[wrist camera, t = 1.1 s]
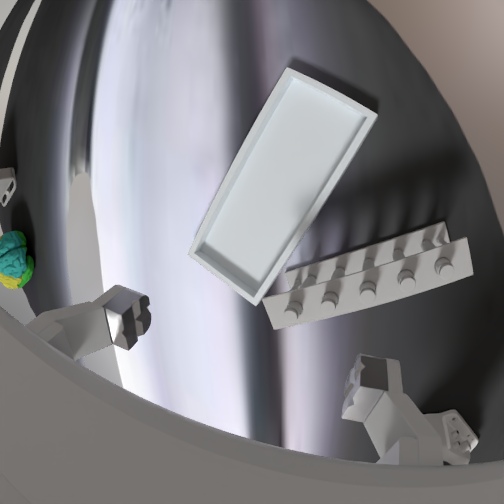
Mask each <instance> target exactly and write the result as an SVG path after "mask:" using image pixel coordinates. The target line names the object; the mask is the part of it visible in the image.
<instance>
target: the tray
mask: <svg viewBox="0 0 504 504" xmlns="http://www.w3.org/2000/svg"><path fill="white" fill-rule="evenodd" d="M377 117H378V115H377V114H376V113H374V112H373V111H371V110H369V109H368V108H366V107H364V106H363V105H361V104H359V103H357V102H356V101H354V100H352V99H350V98H349V97H347V96H345V95H343V94H341V93H339V92H338V91H336V90H334V89H332V88H330V87H328V86H326V85H324V84H322V83H320V82H318V81H316V80H314V79H312V78H310V77H308V76H306V75H303V74H301V73H299V72H297V71H295V70H292V69H290V68H288V67H287V68H286V69H285V71H284V73H283V74H282V76H281V78H280V79H279V81H278V83H277V85H276V86H275V88H274V90H273V91H272V93H271V95H270V97H269V98H268V100H267V102H266V103H265V105H264V107H263V109H262V110H261V112H260V114H259V116H258V118H257V119H256V121H255V123H254V125H253V126H252V128H251V130H250V132H249V134H248V136H247V137H246V139H245V141H244V143H243V145H242V147H241V148H240V150H239V152H238V154H237V156H236V158H235V160H234V162H233V163H232V165H231V167H230V169H229V171H228V173H227V175H226V177H225V179H224V181H223V183H222V185H221V187H220V188H219V190H218V192H217V194H216V196H215V198H214V200H213V202H212V204H211V206H210V208H209V210H208V212H207V214H206V216H205V219H204V221H203V223H202V225H201V227H200V229H199V231H198V233H197V235H196V237H195V239H194V241H193V243H192V246H191V248H190V250H189V252H188V254H187V255H189V256H190V257H191V258H193V259H194V260H195V261H196V262H198V263H199V264H200V265H202V266H203V267H204V268H206V269H207V270H208V271H210V272H211V273H212V274H213V275H215V276H216V277H217V278H219V279H220V280H221V281H223V282H224V283H225V284H227V285H228V286H229V287H231V288H232V289H233V290H235V291H236V292H237V293H239V294H240V295H241V296H243V297H244V298H245V299H247V300H248V301H250V302H251V303H252V304H254V305H255V306H256V305H257V304H258V303H259V302H260V301H261V300H262V298H263V297H264V295H265V294H266V293H267V291H268V290H269V288H270V287H271V285H272V284H273V282H274V281H275V279H276V278H277V276H278V275H279V273H280V272H281V270H282V269H283V267H284V266H285V264H286V263H287V261H288V260H289V258H290V257H291V255H292V254H293V252H294V251H295V249H296V248H297V246H298V245H299V243H300V242H301V240H302V238H303V237H304V235H305V234H306V232H307V231H308V229H309V228H310V226H311V225H312V223H313V222H314V220H315V218H316V217H317V215H318V214H319V212H320V211H321V209H322V207H323V206H324V204H325V203H326V201H327V200H328V198H329V196H330V195H331V193H332V192H333V190H334V188H335V187H336V185H337V184H338V182H339V181H340V179H341V177H342V176H343V174H344V172H345V171H346V169H347V168H348V166H349V164H350V163H351V161H352V159H353V158H354V156H355V155H356V153H357V151H358V150H359V148H360V146H361V145H362V143H363V141H364V140H365V138H366V136H367V135H368V133H369V131H370V130H371V128H372V126H373V125H374V123H375V121H376V120H377Z"/></svg>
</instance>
